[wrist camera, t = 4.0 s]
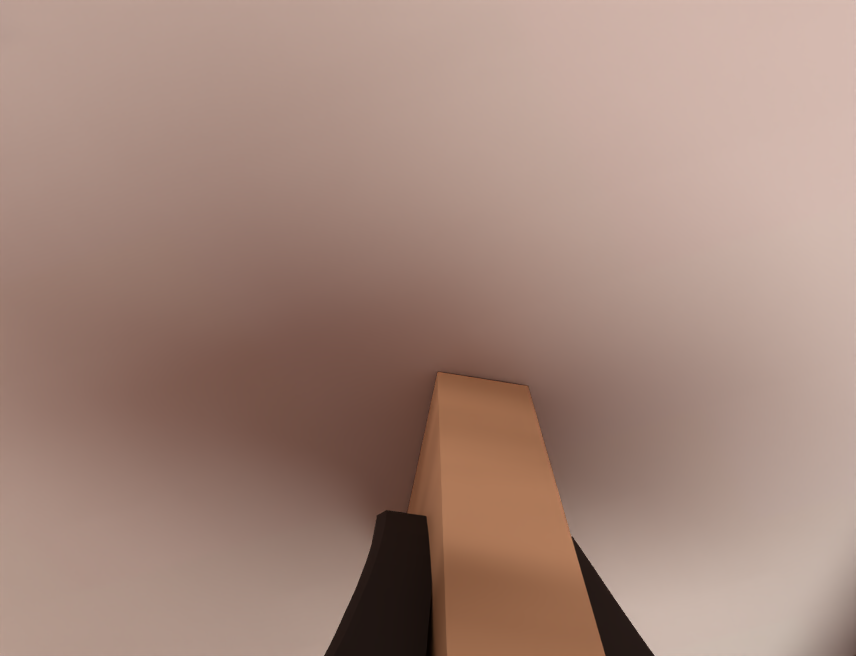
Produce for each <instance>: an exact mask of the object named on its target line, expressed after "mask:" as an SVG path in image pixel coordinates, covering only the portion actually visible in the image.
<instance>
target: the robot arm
mask: <svg viewBox="0 0 856 656" xmlns="http://www.w3.org/2000/svg"><path fill="white" fill-rule="evenodd" d="M571 538H572V541H573V544H574V548H575V551H576V555H577V558H578V562H579V565H580V569H581V572H582V576H583V579H584V583H585V586H586V590H587V593H588V597H589V600H590V604H591V607H592V611H593V614H594V618H595V621H596V625H597V628H598V632H599V635H600V639H601V642H602V646H603V649H604V653H605V656H654V654H653V653H652V652H651V650H650V649H649V648H648V646H647V645H646V643H645V642H644V641H643V639H642V638H641V636H640V635H639V633H638V632H637V631H636V629H635V628H634V626H633V625H632V623H631V622H630V620H629V619H628V618H627V616H626V615H625V613H624V612H623V610H622V609H621V607H620V606H619V604H618V603H617V601H616V600H615V599H614V597H613V596H612V594H611V593H610V591H609V590H608V588H607V587H606V585H605V584H604V582H603V581H602V579H601V578H600V576H599V575H598V573H597V572H596V570H595V569H594V567H593V566H592V565H591V563H590V562H589V560H588V559H587V557H586V556H585V554H584V553H583V551H582V550H581V548H580V547H579V545H578V544H577V543H576V541H575V540H574V538H573V537H572V536H571ZM431 588H432V573H431V557H430V545H429V534H428V525H427V517H426V516H423V515H416V514H409V513H402V512H395V511H388V510H386V511H384V512H383V513H381V514H379V515H377V519H376V524H375V529H374V535H373V540H372V545H371V548H370V552H369V555H368V558H367V561H366V564H365V566H364V569H363V572H362V574H361V577H360V579H359V582H358V585H357V587H356V590H355V592H354V594H353V596H352V598H351V601H350V603H349V605H348V607H347V609H346V612H345V614H344V616H343V618H342V620H341V623H340V625H339V627H338V629H337V631H336V634H335V636H334V638H333V640H332V642H331V644H330V646H329V648H328V650H327V651H326V653H325V655H324V656H426V651H427V639H428V626H429V613H430V601H431Z"/></svg>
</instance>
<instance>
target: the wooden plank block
mask: <svg viewBox="0 0 856 656" xmlns="http://www.w3.org/2000/svg"><path fill="white" fill-rule="evenodd" d="M407 513H409V514H416V515H423V516H426V517H427V525H428V534H429V545H430V557H431V573H432V588H431V601H430V613H429V626H428V639H427V651H426V656H605V653H604V649H603V646H602V642H601V639H600V635H599V632H598V628H597V625H596V621H595V618H594V614H593V611H592V607H591V604H590V600H589V597H588V593H587V590H586V586H585V583H584V579H583V576H582V572H581V569H580V565H579V562H578V558H577V555H576V551H575V548H574V544H573V541H572V538H571V534H570V531H569V527H568V524H567V520H566V517H565V513H564V510H563V506H562V503H561V499H560V496H559V492H558V489H557V485H556V482H555V478H554V475H553V471H552V468H551V464H550V461H549V457H548V454H547V450H546V447H545V443H544V440H543V436H542V433H541V429H540V426H539V422H538V419H537V416H536V412H535V409H534V405H533V402H532V398H531V395H530V391H529V388H528V386H524V385H518V384H512V383H505V382H499V381H493V380H487V379H480V378H474V377H468V376H461V375H455V374H449V373H442V372H437V377H436V381H435V386H434V391H433V395H432V400H431V405H430V409H429V414H428V419H427V423H426V428H425V432H424V437H423V442H422V446H421V451H420V456H419V460H418V465H417V470H416V474H415V479H414V484H413V488H412V493H411V497H410V502H409V507H408V511H407Z"/></svg>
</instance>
